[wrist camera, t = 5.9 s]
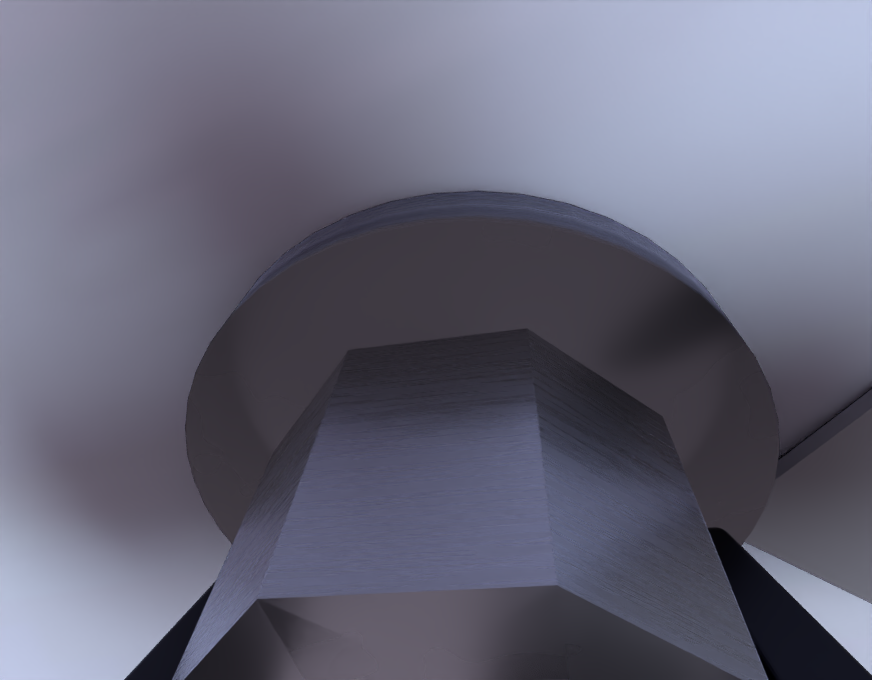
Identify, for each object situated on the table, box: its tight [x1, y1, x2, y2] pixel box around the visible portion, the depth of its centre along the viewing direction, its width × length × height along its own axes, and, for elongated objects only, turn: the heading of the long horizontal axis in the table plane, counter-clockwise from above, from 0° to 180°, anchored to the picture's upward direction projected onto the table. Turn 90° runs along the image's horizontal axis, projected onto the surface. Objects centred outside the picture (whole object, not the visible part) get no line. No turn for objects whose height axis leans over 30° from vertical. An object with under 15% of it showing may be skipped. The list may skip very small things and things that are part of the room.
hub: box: [185, 191, 779, 545], centre depth 9 cm, size 10×10×4 cm
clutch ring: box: [172, 328, 768, 680], centre depth 8 cm, size 6×6×4 cm
